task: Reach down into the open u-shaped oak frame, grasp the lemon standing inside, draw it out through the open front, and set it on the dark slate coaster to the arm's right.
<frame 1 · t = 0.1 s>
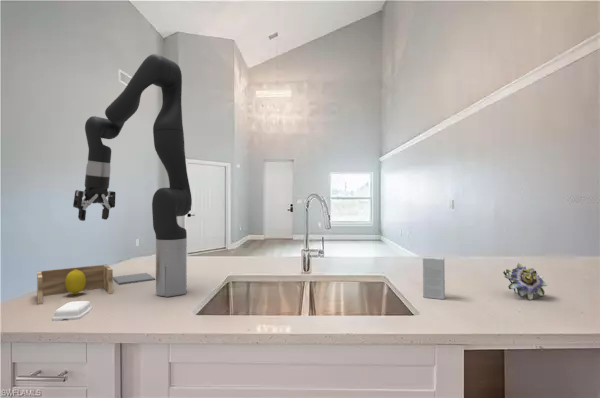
hand: (93, 219, 129), 22 cm above the worktop, tool pointing down, fingers open, 8 cm apart
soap: (73, 316, 93), on the worktop
lemon: (75, 295, 112), on the worktop
passion flower: (523, 296, 111), on the worktop
slate coaster: (133, 279, 134), on the worktop
open u-shaped oak frame: (75, 294, 112), on the worktop
skincare box: (433, 297, 110), on the worktop
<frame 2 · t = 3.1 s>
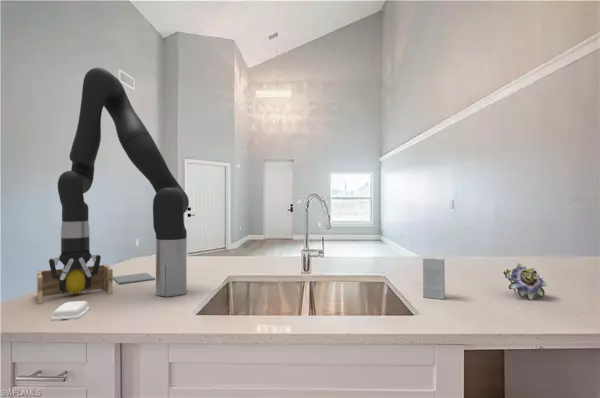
hand: (75, 289, 112), 2 cm above the worktop, tool pointing down, fingers closed on lemon, 5 cm apart
lemon: (75, 295, 112), on the worktop, touching gripper
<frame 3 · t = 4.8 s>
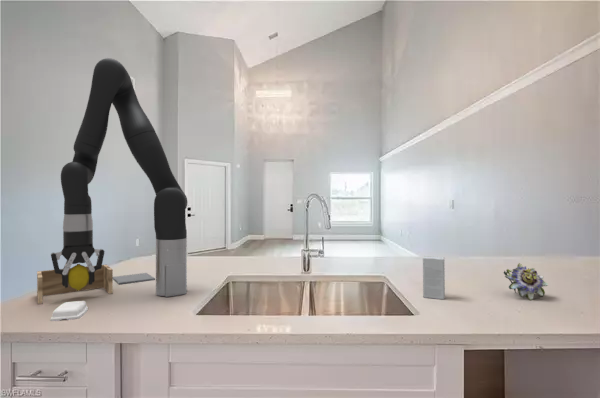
hand: (78, 285, 108), 4 cm above the worktop, tool pointing down, fingers closed on lemon, 5 cm apart
lemon: (78, 291, 108), point 2 cm above the worktop, touching gripper
everything else where it was.
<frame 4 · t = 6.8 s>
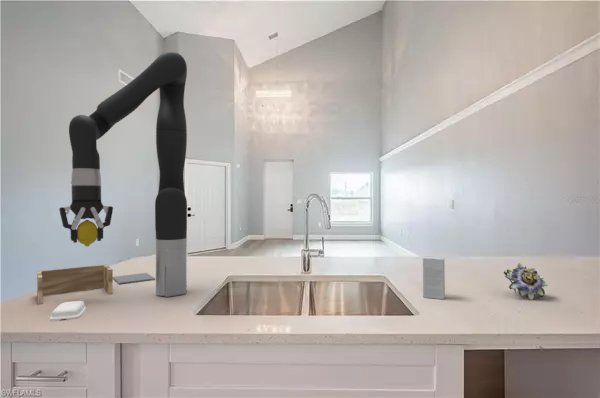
hand: (87, 241, 107), 17 cm above the worktop, tool pointing down, fingers closed on lemon, 5 cm apart
lemon: (87, 247, 107), point 15 cm above the worktop, touching gripper
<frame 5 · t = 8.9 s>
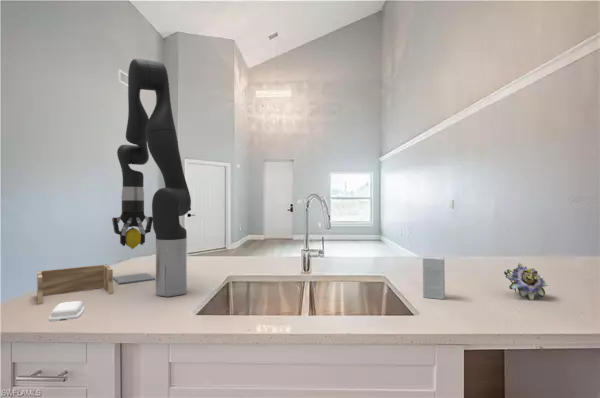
hand: (132, 244, 133), 13 cm above the worktop, tool pointing down, fingers closed on lemon, 5 cm apart
lemon: (132, 249, 133), point 11 cm above the worktop, touching gripper
when the fingers open (4 cm above the worktop, at t = 10.6 s): lemon drops 2 cm, resting on slate coaster.
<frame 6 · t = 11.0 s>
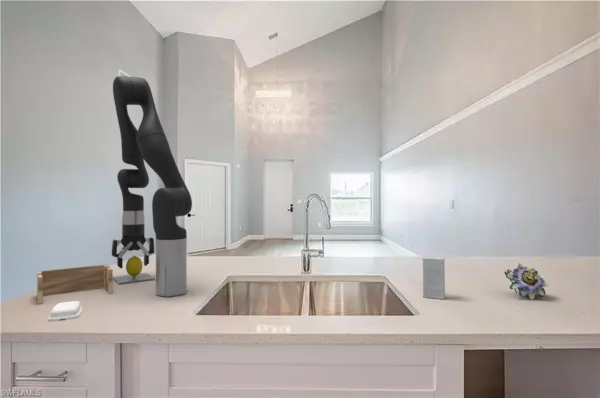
hand: (133, 266, 134), 5 cm above the worktop, tool pointing down, fingers open, 8 cm apart
lemon: (134, 277, 134), resting on slate coaster
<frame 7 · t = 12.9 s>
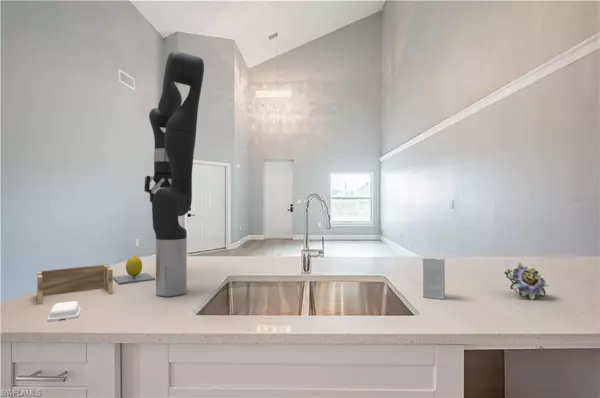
hand: (164, 203, 139), 28 cm above the worktop, tool pointing down, fingers open, 8 cm apart
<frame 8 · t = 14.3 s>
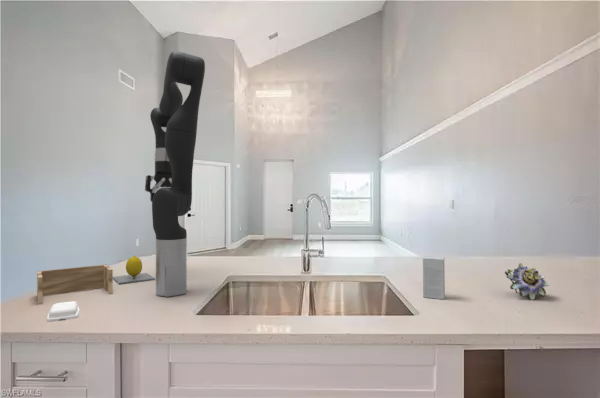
hand: (165, 203, 139), 28 cm above the worktop, tool pointing down, fingers open, 8 cm apart
at the end: lemon 0.2 cm from the slate coaster (horizontally); lemon resting on slate coaster; the gripper is holding nothing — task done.
